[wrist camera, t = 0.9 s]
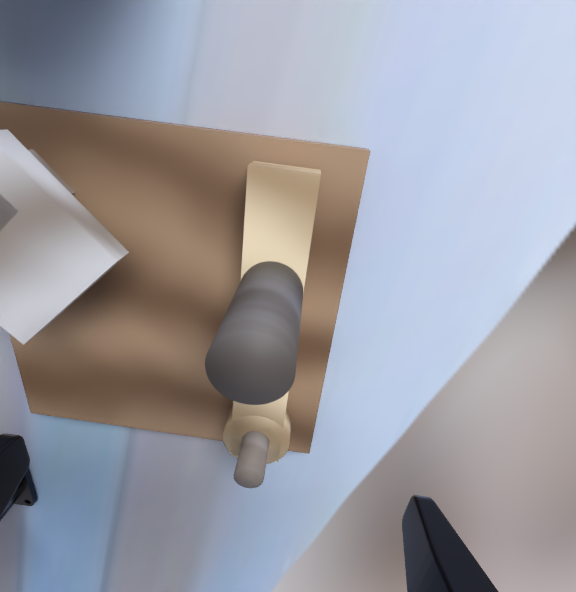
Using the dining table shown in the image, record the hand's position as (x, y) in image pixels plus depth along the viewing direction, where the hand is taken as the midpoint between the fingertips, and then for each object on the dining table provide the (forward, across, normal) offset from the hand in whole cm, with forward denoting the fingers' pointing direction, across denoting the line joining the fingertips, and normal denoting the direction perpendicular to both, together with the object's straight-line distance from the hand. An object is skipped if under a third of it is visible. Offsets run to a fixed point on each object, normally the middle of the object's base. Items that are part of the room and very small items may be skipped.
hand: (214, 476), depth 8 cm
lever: (+12, 0, +3) cm, 12 cm away
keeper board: (+13, +6, +3) cm, 14 cm away
